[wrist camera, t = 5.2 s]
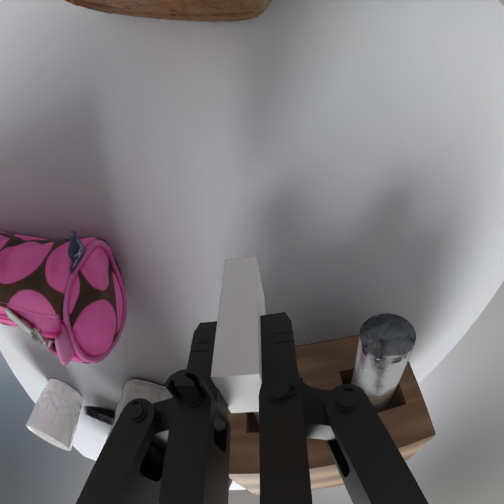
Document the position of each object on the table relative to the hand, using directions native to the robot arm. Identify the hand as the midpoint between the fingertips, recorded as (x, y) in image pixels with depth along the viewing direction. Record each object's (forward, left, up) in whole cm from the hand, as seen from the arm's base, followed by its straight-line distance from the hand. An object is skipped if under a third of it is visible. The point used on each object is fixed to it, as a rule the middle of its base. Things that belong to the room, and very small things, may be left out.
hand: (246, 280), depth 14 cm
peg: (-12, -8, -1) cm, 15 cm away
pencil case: (+2, +20, -6) cm, 21 cm away
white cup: (-22, +34, -6) cm, 42 cm away
